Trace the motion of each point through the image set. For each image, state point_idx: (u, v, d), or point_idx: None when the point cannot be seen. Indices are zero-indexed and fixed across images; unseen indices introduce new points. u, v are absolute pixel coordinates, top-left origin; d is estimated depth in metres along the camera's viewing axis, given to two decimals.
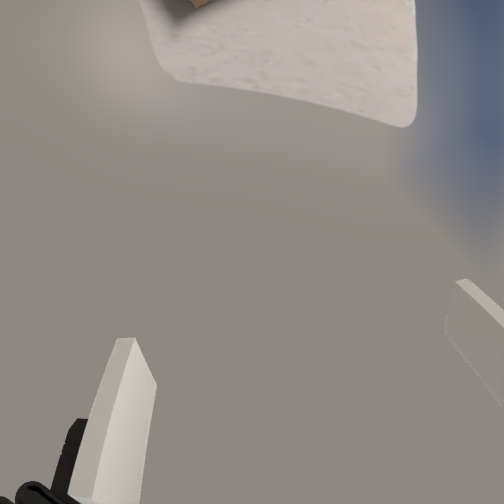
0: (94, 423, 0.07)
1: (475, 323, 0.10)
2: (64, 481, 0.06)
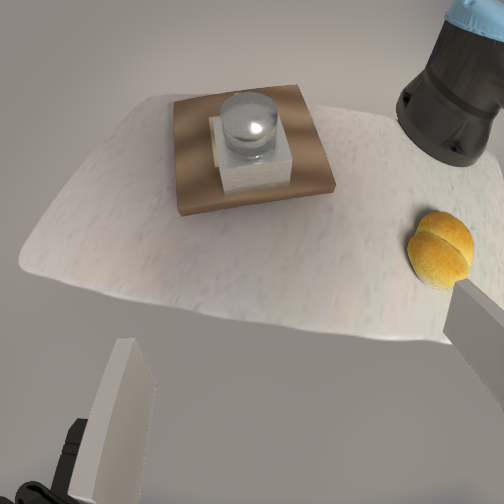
0: (94, 423, 0.07)
1: (475, 323, 0.10)
2: (64, 481, 0.06)
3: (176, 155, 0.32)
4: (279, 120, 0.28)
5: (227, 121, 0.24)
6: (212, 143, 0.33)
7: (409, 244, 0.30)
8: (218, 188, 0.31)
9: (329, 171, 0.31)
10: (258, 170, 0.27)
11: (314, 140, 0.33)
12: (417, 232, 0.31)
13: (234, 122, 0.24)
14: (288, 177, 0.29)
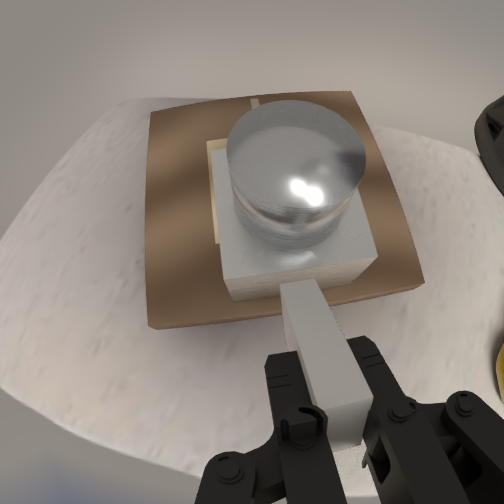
0: (308, 346, 0.09)
1: None
2: None
3: (147, 213, 0.18)
4: None
5: (244, 176, 0.10)
6: (211, 193, 0.19)
7: (501, 359, 0.16)
8: (222, 289, 0.17)
9: (414, 257, 0.17)
10: (305, 275, 0.13)
11: (388, 194, 0.18)
12: None
13: (263, 179, 0.10)
14: (355, 276, 0.15)
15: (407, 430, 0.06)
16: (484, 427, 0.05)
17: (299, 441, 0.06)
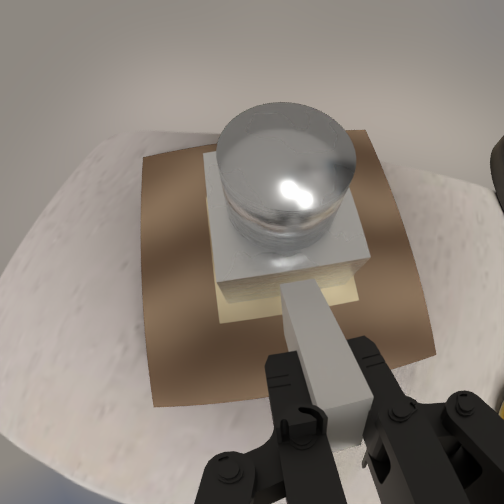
0: (308, 346, 0.09)
1: None
2: None
3: (144, 285, 0.17)
4: None
5: (234, 180, 0.10)
6: (213, 263, 0.17)
7: None
8: (228, 372, 0.15)
9: (428, 328, 0.16)
10: (298, 276, 0.13)
11: (404, 258, 0.17)
12: None
13: (253, 182, 0.10)
14: (349, 277, 0.15)
15: (407, 430, 0.06)
16: (484, 427, 0.05)
17: (299, 441, 0.06)
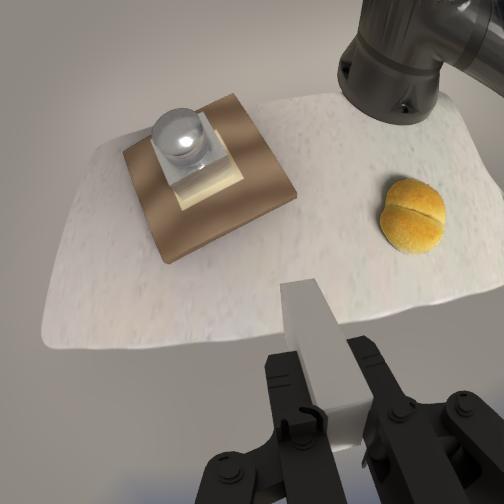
0: (308, 346, 0.09)
1: None
2: None
3: (144, 209, 0.34)
4: (207, 121, 0.30)
5: (160, 145, 0.26)
6: None
7: (381, 221, 0.33)
8: (192, 231, 0.33)
9: (287, 181, 0.33)
10: (202, 173, 0.30)
11: (265, 151, 0.34)
12: (386, 206, 0.34)
13: (166, 144, 0.26)
14: (231, 168, 0.32)
15: (407, 430, 0.06)
16: (484, 427, 0.05)
17: (299, 441, 0.06)
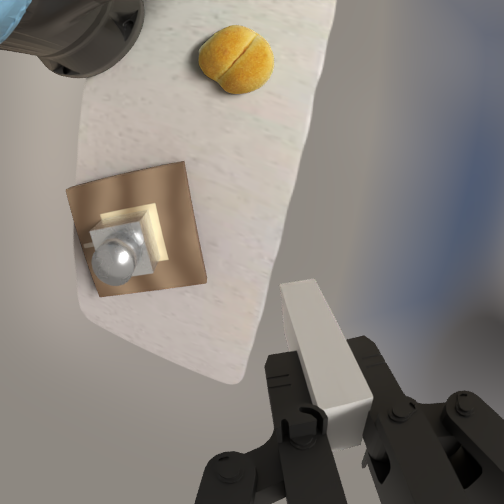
0: (308, 346, 0.09)
1: None
2: None
3: (157, 288, 0.41)
4: (101, 229, 0.32)
5: (125, 280, 0.31)
6: None
7: (229, 92, 0.34)
8: (188, 255, 0.39)
9: (169, 167, 0.35)
10: (148, 242, 0.35)
11: (134, 177, 0.35)
12: (217, 80, 0.33)
13: (125, 275, 0.31)
14: (145, 214, 0.35)
15: (407, 430, 0.06)
16: (484, 427, 0.05)
17: (299, 441, 0.06)
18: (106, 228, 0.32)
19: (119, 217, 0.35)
